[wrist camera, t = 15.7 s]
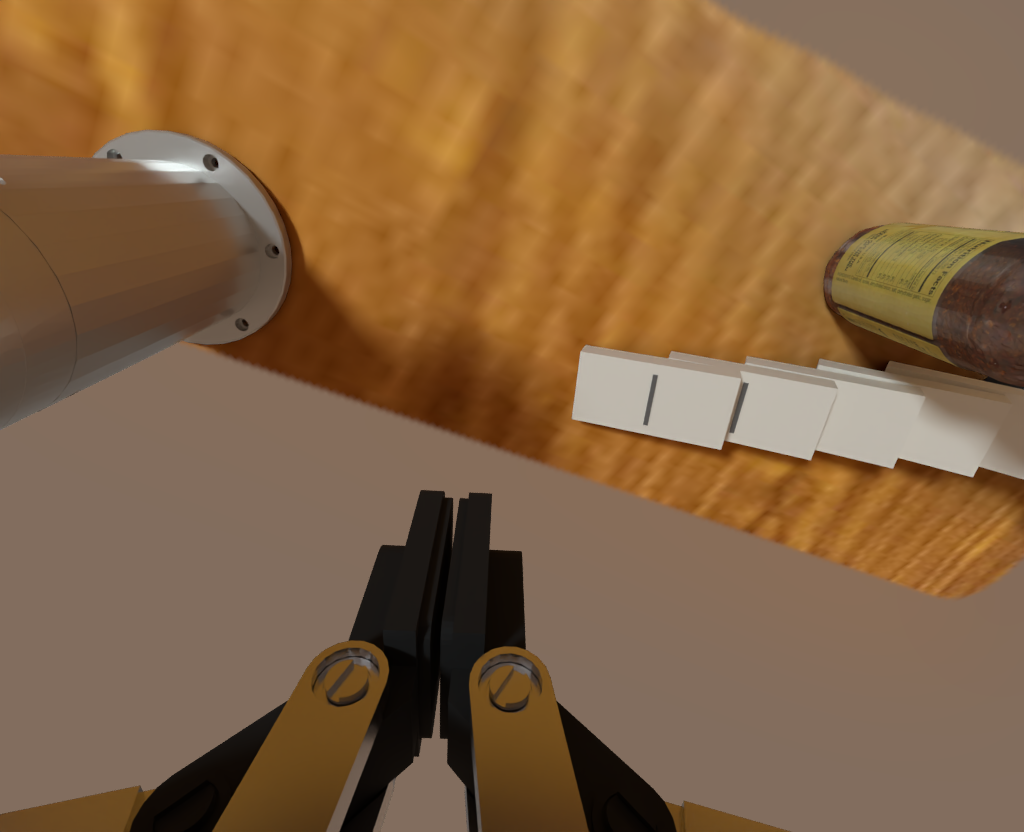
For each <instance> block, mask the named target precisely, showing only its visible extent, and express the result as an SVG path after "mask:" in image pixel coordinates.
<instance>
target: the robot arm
mask: <svg viewBox="0 0 1024 832" xmlns="http://www.w3.org/2000/svg"><path fill="white" fill-rule="evenodd" d="M122 158H123V159H122ZM216 159H217V161H218V163H219V165H218V166H217V165H216V163H215V161H216ZM275 246H276V247H277V248H278V250H279V253H277V252H276V251H275ZM291 271H292V258H291V248H290V242H289V239H288V235H287V231H286V228H285V225H284V222H283V220H282V218H281V216H280V214H279V211H278V209H277V207H276V205H275V203H274V202H273V200H272V199H271V197H270V196H269V194H268V193H267V191H266V190H265V188H264V187H263V185H262V184H261V183H260V182H259V181H258V180H257V179H256V178H255V177H254V176H253V174H252V173H251V172H250V171H249V170H248V169H247V168H246V167H245V166H243V165H242V164H241V163H240V162H239V161H237V160H236V159H235V158H234V157H232V156H231V155H230V154H229V153H227V152H225V151H223V150H222V149H220V148H218V147H216V146H215V145H213V144H211V143H209V142H207V141H205V140H202V139H199V138H196V137H193V136H191V135H188V134H183V133H177V132H171V131H160V130H142V131H137V132H131V133H126V134H124V135H122V136H120V137H117V138H115V139H113V140H111V141H109V142H108V143H106V144H105V145H104V146H103V147H102V148H100V149H99V150H98V151H97V152H96V153H95V154H94V155H93V157H92V158H81V157H54V156H27V155H0V430H1V429H3V428H5V427H7V426H9V425H11V424H13V423H15V422H17V421H19V420H21V419H23V418H25V417H27V416H29V415H31V414H33V413H35V412H39V411H41V410H43V409H45V408H47V407H49V406H51V405H53V404H55V403H57V402H59V401H61V400H63V399H65V398H67V397H69V396H71V395H73V394H75V393H77V392H79V391H81V390H83V389H85V388H87V387H89V386H91V385H93V384H95V383H97V382H99V381H101V380H103V379H106V378H108V377H109V376H112V375H114V374H115V373H118V372H120V371H122V370H124V369H126V368H128V367H130V366H132V365H134V364H136V363H138V362H140V361H142V360H144V359H146V358H148V357H150V356H152V355H154V354H156V353H158V352H160V351H162V350H164V349H166V348H168V347H170V346H172V345H174V344H176V343H178V342H180V341H182V340H183V341H186V342H190V343H198V344H205V345H209V344H225V343H229V342H233V341H237V340H240V339H242V338H244V337H246V336H248V335H250V334H252V333H254V332H256V331H257V330H259V329H260V328H262V327H263V326H265V325H266V324H267V323H268V322H269V321H270V320H271V319H272V318H273V317H274V316H275V315H276V314H277V312H278V311H279V309H280V307H281V305H282V304H283V302H284V300H285V298H286V295H287V292H288V289H289V285H290V281H291ZM245 320H246V321H247V322H248V324H247V323H246V321H245ZM491 503H492V494H488V493H469V499H465V498H460V501H459V507H458V514H457V521H456V528H455V536H454V542H453V548H452V535H453V498H445V492H444V491H426V490H421V492H420V495H419V498H418V502H417V506H416V509H415V513H414V517H413V520H412V524H411V528H410V531H409V535H408V539H407V542H406V546H394V545H392V546H391V545H382V546H381V548H380V550H379V552H378V555H377V558H376V561H375V564H374V567H373V570H372V573H371V576H370V579H369V582H368V585H367V588H366V591H365V594H364V597H363V600H362V603H361V605H360V608H359V611H358V614H357V617H356V621H355V623H354V626H353V629H352V632H351V635H350V638H349V641H347V642H342V643H338V644H336V645H333V646H331V647H329V648H327V649H325V650H324V651H323V652H321V653H320V654H319V655H318V656H316V657H315V658H314V659H313V661H312V662H311V663H310V665H309V666H308V667H307V669H306V670H305V672H304V674H303V675H302V677H301V679H300V681H299V682H298V684H297V686H296V688H295V689H294V691H293V693H292V695H291V696H290V698H289V700H288V701H286V702H285V703H283V704H282V705H280V706H279V707H277V708H275V709H274V710H272V711H271V712H269V713H268V714H266V715H265V716H263V717H262V718H260V719H258V720H257V721H255V722H254V723H253V724H251V725H249V726H248V727H246V728H245V729H243V730H242V731H240V732H239V733H237V734H235V735H234V736H232V737H231V738H229V739H228V740H226V741H225V742H223V743H222V744H220V745H218V746H217V747H215V748H214V749H212V750H211V751H210V752H208V753H206V754H205V755H203V756H202V757H200V758H198V759H197V760H195V761H194V762H192V763H191V764H189V765H188V766H186V767H185V768H183V769H182V770H180V771H178V772H177V773H175V774H174V775H172V776H171V777H170V778H169V779H167V780H166V781H165V782H164V783H162V784H161V785H160V786H159V787H157V788H156V789H153V790H148V791H144V792H143V790H142V788H141V786H135V787H130V788H125V789H120V790H116V791H110V792H106V793H101V794H96V795H91V796H86V797H82V798H76V799H72V800H67V801H62V802H57V803H53V804H47V805H43V806H38V807H33V808H29V809H23V810H18V811H13V812H8V813H4V814H0V832H380V831H381V827H382V825H383V822H384V819H385V815H386V812H387V809H388V806H389V803H390V800H391V797H392V794H393V791H394V785H395V779H396V777H397V776H398V775H399V774H400V773H401V772H402V771H404V770H405V769H406V768H407V767H408V766H409V765H411V763H413V758H414V756H417V757H418V756H419V753H420V746H421V740H422V738H432V733H433V726H434V719H435V711H436V704H437V696H438V689H439V681H440V738H441V739H448V753H447V763H448V765H449V766H450V767H451V768H452V770H453V771H454V772H455V773H456V775H457V776H458V777H459V778H460V780H461V781H462V782H463V783H464V784H465V807H466V822H467V832H791V831H787V830H784V829H780V828H776V827H773V826H770V825H767V824H763V823H760V822H756V821H753V820H749V819H746V818H742V817H739V816H735V815H732V814H728V813H725V812H722V811H718V810H715V809H711V808H708V807H704V806H701V805H697V804H694V803H691V802H687V801H684V802H683V804H682V806H679V805H675V804H672V803H668V802H665V801H663V799H662V798H661V797H660V796H659V795H658V794H657V793H656V791H655V790H654V789H653V788H652V787H651V786H650V785H649V784H647V783H646V782H645V781H644V780H643V779H642V778H641V777H640V776H639V775H637V774H636V773H635V772H634V771H633V770H632V769H631V768H630V767H629V766H628V765H627V764H625V763H624V762H623V761H622V760H621V759H620V758H619V757H618V756H617V755H616V754H614V753H613V752H612V751H611V750H610V749H609V748H608V747H607V746H606V745H605V744H603V743H602V742H601V741H600V740H599V739H598V738H597V737H596V736H595V735H594V734H592V733H591V732H590V731H589V730H588V729H587V728H586V727H585V726H584V725H583V724H581V723H580V722H579V721H578V720H577V719H576V718H575V717H574V716H572V715H571V714H570V713H569V712H568V711H567V710H566V709H565V708H564V707H563V706H562V705H561V704H559V703H558V702H557V701H556V698H555V694H554V690H553V686H552V681H551V677H550V675H549V673H548V670H547V668H546V666H545V665H544V664H543V663H542V661H541V660H540V659H539V658H538V657H537V656H535V655H534V654H532V653H530V652H529V651H527V650H526V644H525V619H524V593H523V566H522V552H521V551H503V550H489V544H490V523H491Z"/></svg>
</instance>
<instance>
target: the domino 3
mask: <svg viewBox="0 0 1024 832" xmlns="http://www.w3.org/2000/svg"><path fill="white" fill-rule="evenodd" d="M745 364H746V365H751V366H757V367H762V368H768V369H773V370H779V371H784V372H790V373H795V374H801V375H806V376H812V377H818V378H823V379H829V380H834V381H835V383H836V385H837V387H838V391H837V394H836V396H835V399H834V401H833V404H832V407H831V409H830V412H829V414H828V417H827V420H826V422H825V425H824V427H823V430H822V433H821V435H820V438H819V440H818V443H817V446H816V448H815V450H817V451H821V452H826V453H830V454H834V455H838V456H842V457H846V458H851V459H855V460H859V461H863V462H867V463H872V464H876V465H880V466H884V467H888V468H892V469H893V468H894V465H895V463H896V461H897V459H898V457H899V454H900V452H901V450H902V448H903V446H904V444H905V441H906V439H907V437H908V435H909V433H910V431H911V428H912V426H913V424H914V422H915V420H916V417H917V415H918V413H919V411H920V409H921V407H922V404H923V402H924V400H925V398H926V396H925V394H924V393H923V392H922V390H921V389H920V388H917V387H912V386H906V385H901V384H895V383H890V382H885V381H879V380H874V379H868V378H863V377H857V376H852V375H847V374H841V373H836V372H830V371H825V370H820V369H814V368H809V367H803V366H798V365H793V364H787V363H782V362H776V361H771V360H765V359H760V358H755V357H749V356H747V358H746V361H745Z"/></svg>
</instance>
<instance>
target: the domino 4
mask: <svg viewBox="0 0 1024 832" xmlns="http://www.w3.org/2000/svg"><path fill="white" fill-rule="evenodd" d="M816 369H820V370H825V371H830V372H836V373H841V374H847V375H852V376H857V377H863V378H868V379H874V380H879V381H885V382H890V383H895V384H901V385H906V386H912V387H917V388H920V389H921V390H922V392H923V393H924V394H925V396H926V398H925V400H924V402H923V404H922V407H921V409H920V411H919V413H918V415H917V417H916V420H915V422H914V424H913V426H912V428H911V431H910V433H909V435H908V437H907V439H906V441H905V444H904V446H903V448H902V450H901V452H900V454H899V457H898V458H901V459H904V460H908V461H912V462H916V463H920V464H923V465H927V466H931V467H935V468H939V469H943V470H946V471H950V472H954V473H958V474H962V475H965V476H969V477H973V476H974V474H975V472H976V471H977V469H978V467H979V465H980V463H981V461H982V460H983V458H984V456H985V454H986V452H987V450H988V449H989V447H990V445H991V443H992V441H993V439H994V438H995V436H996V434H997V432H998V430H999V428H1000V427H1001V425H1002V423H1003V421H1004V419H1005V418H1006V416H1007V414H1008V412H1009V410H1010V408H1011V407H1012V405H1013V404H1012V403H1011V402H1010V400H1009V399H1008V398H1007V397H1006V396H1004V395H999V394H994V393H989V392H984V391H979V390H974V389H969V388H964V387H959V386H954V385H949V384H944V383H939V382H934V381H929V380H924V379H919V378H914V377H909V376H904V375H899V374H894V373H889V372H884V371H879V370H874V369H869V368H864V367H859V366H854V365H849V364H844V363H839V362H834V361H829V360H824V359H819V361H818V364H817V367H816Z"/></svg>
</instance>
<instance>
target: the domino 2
mask: <svg viewBox="0 0 1024 832" xmlns="http://www.w3.org/2000/svg"><path fill="white" fill-rule="evenodd" d="M668 359H674V360H680V361H686V362H692V363H698V364H704V365H710V366H716V367H722V368H729V369H735V370H740V374H741V382H740V386H739V389H738V393H737V396H736V400H735V403H734V407H733V410H732V414H731V417H730V421H729V424H728V428H727V431H726V435H725V438H724V441H728V442H733V443H737V444H741V445H746V446H750V447H754V448H759V449H763V450H768V451H772V452H776V453H781V454H785V455H789V456H794V457H798V458H803V459H807V460H811V459H812V456H813V453H814V451H815V448H816V446H817V443H818V440H819V438H820V435H821V433H822V430H823V427H824V425H825V422H826V420H827V417H828V414H829V412H830V409H831V407H832V404H833V401H834V399H835V396H836V394H837V391H838V387H837V385H836V383H835V381H834V380H829V379H823V378H818V377H812V376H806V375H801V374H795V373H790V372H784V371H779V370H773V369H768V368H762V367H757V366H751V365H746V364H740V363H735V362H729V361H724V360H718V359H712V358H707V357H701V356H696V355H690V354H685V353H679V352H674V351H671V353H670V355H669V358H668Z"/></svg>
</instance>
